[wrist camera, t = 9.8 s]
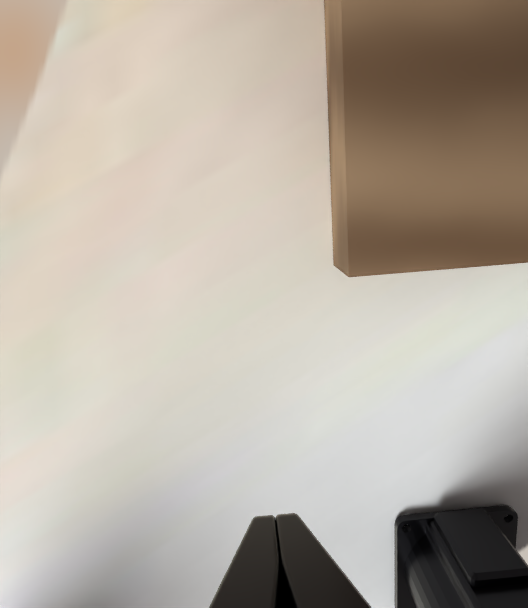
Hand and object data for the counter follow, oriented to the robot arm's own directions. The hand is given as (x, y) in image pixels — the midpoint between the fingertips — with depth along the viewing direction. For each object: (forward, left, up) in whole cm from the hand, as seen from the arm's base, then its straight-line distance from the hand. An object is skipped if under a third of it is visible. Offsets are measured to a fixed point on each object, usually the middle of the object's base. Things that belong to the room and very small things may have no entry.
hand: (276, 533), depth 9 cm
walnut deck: (+10, -10, -13) cm, 19 cm away
